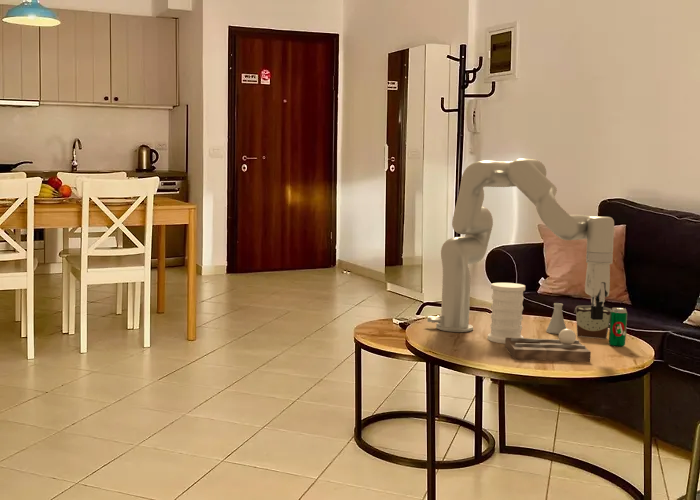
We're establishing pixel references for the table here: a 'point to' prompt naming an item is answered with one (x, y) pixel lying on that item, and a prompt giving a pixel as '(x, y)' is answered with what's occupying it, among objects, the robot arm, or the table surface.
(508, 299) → the decorative container
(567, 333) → the ball
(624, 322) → the soda can
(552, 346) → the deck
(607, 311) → the food container
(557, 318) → the flask
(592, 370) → the table surface
